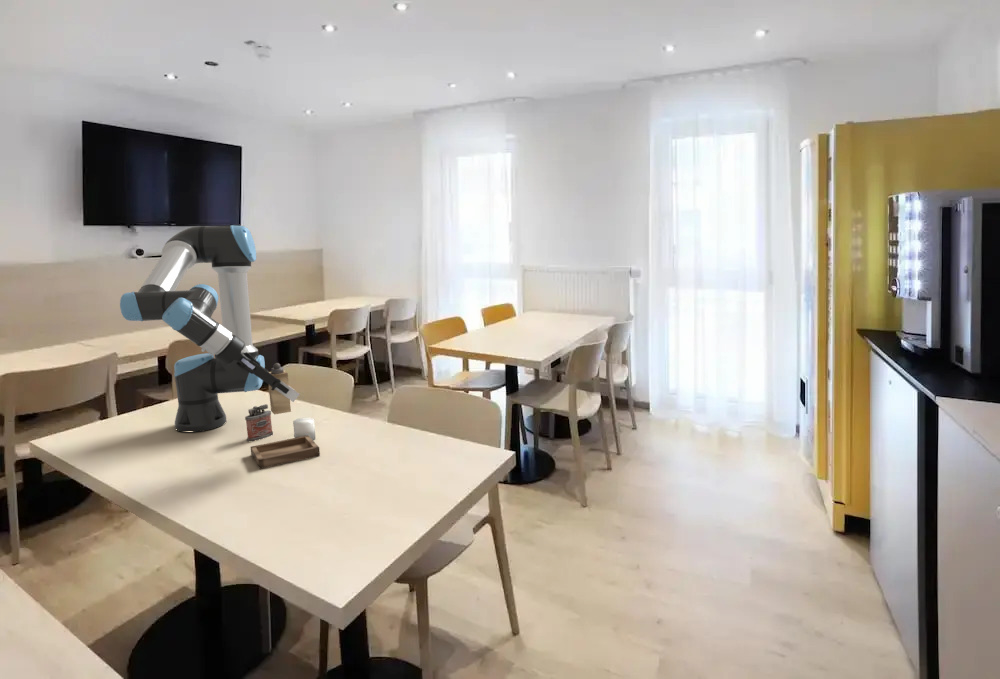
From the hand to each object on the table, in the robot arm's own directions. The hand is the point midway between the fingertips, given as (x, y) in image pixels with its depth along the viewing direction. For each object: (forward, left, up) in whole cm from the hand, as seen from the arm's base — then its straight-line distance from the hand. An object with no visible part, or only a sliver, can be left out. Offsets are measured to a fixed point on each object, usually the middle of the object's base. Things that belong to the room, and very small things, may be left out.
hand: (293, 395), depth 161 cm
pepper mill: (0, -4, -4) cm, 5 cm away
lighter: (-20, -7, -17) cm, 27 cm away
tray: (0, -4, -17) cm, 17 cm away
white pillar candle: (-10, +4, -17) cm, 20 cm away
